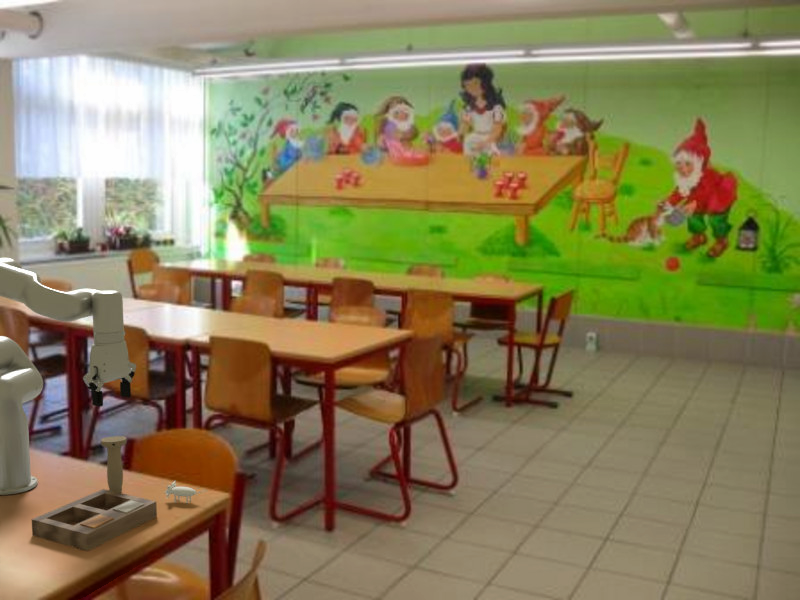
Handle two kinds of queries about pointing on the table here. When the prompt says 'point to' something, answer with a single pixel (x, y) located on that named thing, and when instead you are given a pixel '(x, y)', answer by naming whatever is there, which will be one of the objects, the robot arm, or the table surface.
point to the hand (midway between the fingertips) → (112, 401)
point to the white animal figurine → (180, 491)
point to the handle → (114, 462)
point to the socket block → (94, 519)
